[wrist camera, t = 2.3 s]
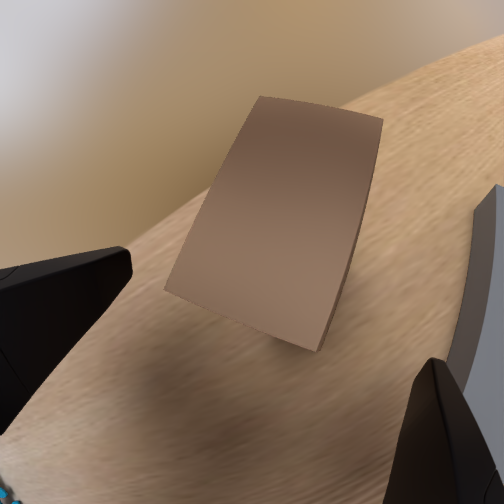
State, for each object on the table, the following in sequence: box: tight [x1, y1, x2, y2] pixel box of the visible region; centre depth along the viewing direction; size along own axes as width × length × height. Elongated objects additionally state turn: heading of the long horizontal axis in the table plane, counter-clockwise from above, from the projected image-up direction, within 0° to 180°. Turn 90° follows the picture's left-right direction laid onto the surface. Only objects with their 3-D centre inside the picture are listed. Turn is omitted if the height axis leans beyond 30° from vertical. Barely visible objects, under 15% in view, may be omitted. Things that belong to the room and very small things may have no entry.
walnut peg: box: [164, 96, 383, 352], centre depth 11 cm, size 5×3×12 cm, turn 157°
